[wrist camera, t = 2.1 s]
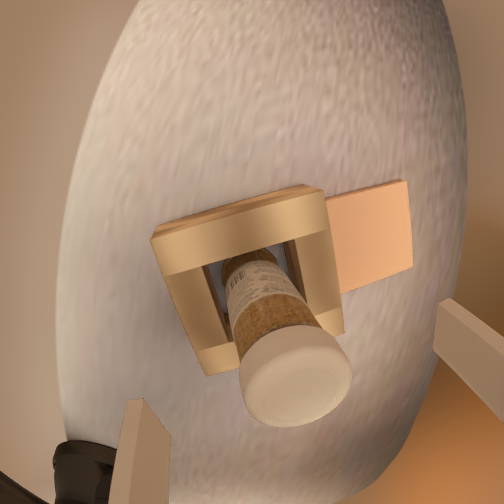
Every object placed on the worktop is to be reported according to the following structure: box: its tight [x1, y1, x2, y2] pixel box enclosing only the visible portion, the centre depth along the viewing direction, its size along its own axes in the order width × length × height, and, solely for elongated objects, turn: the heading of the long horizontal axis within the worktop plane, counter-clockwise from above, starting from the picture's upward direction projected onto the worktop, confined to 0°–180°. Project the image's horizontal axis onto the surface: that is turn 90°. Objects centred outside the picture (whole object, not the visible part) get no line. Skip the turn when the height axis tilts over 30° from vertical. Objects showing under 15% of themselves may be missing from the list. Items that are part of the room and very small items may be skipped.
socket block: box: [150, 185, 345, 376], centre depth 21 cm, size 11×11×4 cm
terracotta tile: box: [325, 180, 413, 294], centre depth 23 cm, size 8×8×1 cm
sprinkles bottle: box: [222, 248, 352, 427], centre depth 17 cm, size 5×5×14 cm
